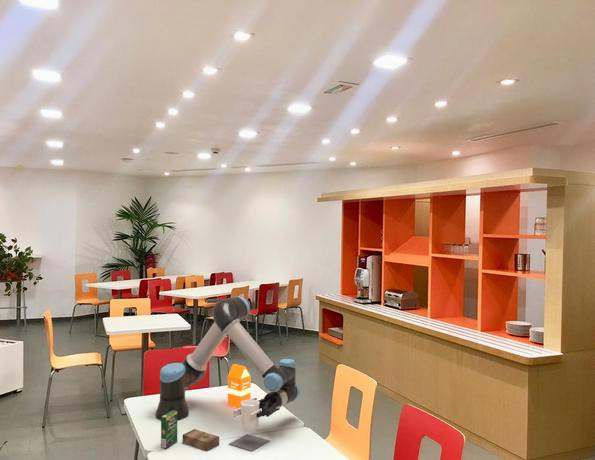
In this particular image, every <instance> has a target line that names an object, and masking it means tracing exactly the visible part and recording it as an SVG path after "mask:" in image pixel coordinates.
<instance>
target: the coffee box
mask: <svg viewBox="0 0 595 460" xmlns="http://www.w3.org/2000/svg"><path fill="white" fill-rule="evenodd" d="M160 432H161V433H160V447H161V449H163V448H164V450H167V449H169V448H170V447H171V446H173V445H174V444H176V443H177V442H178V420H177V411H174V410H172V411H170V412H169V413H167V414H165V415H164V416H162V417H161V420H160Z"/></svg>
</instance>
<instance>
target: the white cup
mask: <svg viewBox="0 0 595 460" xmlns="http://www.w3.org/2000/svg"><path fill="white" fill-rule="evenodd" d="M258 400H259V399H257V400H253V399H250V400H244V401H242V402H241V415H240V418H241V419H240V420H241V427H242V429H244V430H255V429H258V427H259V419H260V417H259V418H257V419H255V420H253V421H250V414H251V413H253V412H256V411H258V410H260V409H259V403H260V402H259V401H258Z"/></svg>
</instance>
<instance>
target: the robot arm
mask: <svg viewBox="0 0 595 460" xmlns="http://www.w3.org/2000/svg"><path fill="white" fill-rule="evenodd" d="M250 310H251V309H250V304H249V302H248V301H247V299H246V298H244V297H243V296H237V295H235V296H232V297H229V298H224V299H221V300H219V301H217V302H216V303H215V304H214V306H213V309H212V318H213V321H214V322H213V323H212V325H211V326H210V328H209V329H208V331H207V333H206V334H205V335H204V336H203V337H202V339H201V341H200V342H199V344H198V345H197V347H195V349H194V351H193V352H192V353H189V354H187V356H186V357H185V358H184V360H183V361H182V362H174V363H173V362H172V363H169V364H168V363H167V364H165V365H164V366H162V368H160V371H159V372H160V373H159V401H158V404H157V405H158V406H157V409H156V410H155V417H157V418H158V419H157V418H156V419H157V420H159V419H160V420H159V421H161V417H162V416H164V415H165V414H167V413H169V412H170V411H172V410H174V411H177V421H178V420H179V421H180V420H182V419H185V418H187V417H189V406H188V403H187V399H186V389H187V388H189V387H190V386H193V385H195V384H197V383H199V382H200V381H202V379H203V378H204V377H205V375H206V370H207V368H208V363H209V361H210V360H211V358H212V356H213V355H214V354H215V352H216V350H218V348H219V347H220V346H221V344H222V342H223V341H224V340H225V338H226V337H227V336H228V338H230V340H231V341H232V342H233V344H235V346H236V347H237V349H239V351H240V352H241V353H242V354H243V356H244V357H245V358H246V359H247V360H248V362H250V364H251V366H253V368H254V369H255V370H256V371H257V372H258V374H259V375H260V376H261V377H262V378H263V385H264V388H265V389H266V390H268V391H269V392H268V393H267V394H266V395H265V396H264V397H263V398H261V399H257V397H255V398H253V399H252V400H258V401H259V402H260V403H259V410H258V411H256V412H253V413H251V414H250V421H253V420H255V419H257V418H259V419H260V418H261V417H270V416H272V415H273V414H275V413H277V411H280V408H281V407H283V406H284V405H287V404H290V403H291V402H294V401H296V399H298V398H299V396H300V394H301V390H300V387H299V385H298V384H296V382H297V381H296V374H297V373H296V371H297V370H296V368H297V367H296V361H295V359H291V358H283V359H280V360H279V362H278V363H279V365H278V367H277V365H275V364H274V362H273V361H272V360H271V359H270V358H269V356H268V355H267V354H266V353H265V352H264V350H263V349H262V348H261V347H260V345H259V344H258V343H257V342H256V341H255V339H253V337H252V336H251V335H250V333H248V331H247V330H246V329H245V328H244V326H243V325H242V324H241V321H242V320H245V319H246V318H247V317H248V316H249V315H250V312H251V311H250ZM239 416H241V404H240V408H236V409H234V410H233V418H237V417H239Z"/></svg>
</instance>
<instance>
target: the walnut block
mask: <svg viewBox="0 0 595 460" xmlns="http://www.w3.org/2000/svg"><path fill="white" fill-rule="evenodd" d="M182 444H184V445H187V446H191V447H192V448H193V447H194V448H196V449H200V450H202V451H206V452H209V451H211V450H213V449H215V448H216V447H218V446H220V436H219V435H215V434H212V433H210V432H206V431H202V430H199V429H196V428H193V429H192V430H190V431H187V432H186V433H183V434H182Z"/></svg>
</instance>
